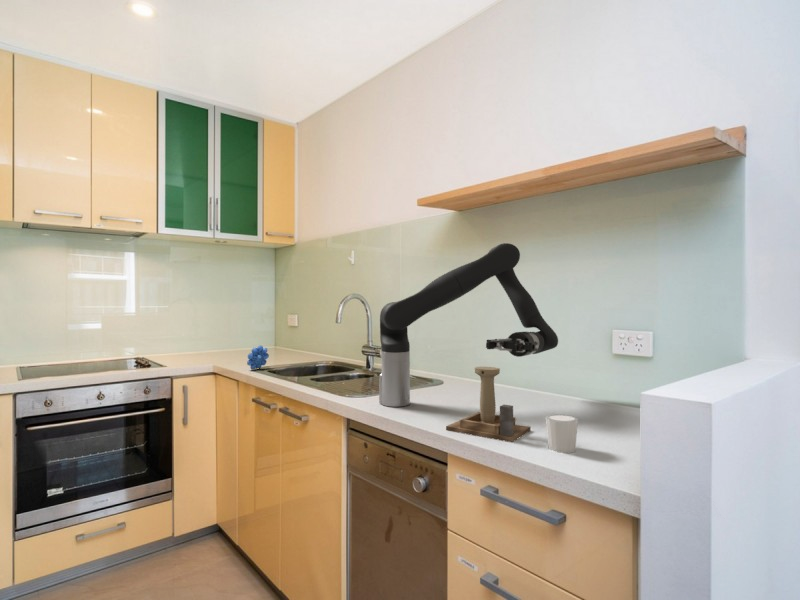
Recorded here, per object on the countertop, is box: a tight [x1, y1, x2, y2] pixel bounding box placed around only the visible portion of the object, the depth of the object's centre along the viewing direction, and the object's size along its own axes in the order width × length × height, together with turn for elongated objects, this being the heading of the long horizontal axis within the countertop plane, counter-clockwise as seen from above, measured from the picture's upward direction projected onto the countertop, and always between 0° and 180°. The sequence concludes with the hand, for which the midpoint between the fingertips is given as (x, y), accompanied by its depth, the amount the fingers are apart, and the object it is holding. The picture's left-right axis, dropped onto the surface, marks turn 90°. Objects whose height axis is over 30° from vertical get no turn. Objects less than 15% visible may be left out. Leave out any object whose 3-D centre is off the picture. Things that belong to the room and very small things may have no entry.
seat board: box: [445, 404, 531, 443], centre depth 118 cm, size 18×12×8 cm, turn 54°
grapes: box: [246, 345, 270, 370], centre depth 230 cm, size 12×7×12 cm, turn 136°
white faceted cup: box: [545, 414, 579, 454], centre depth 103 cm, size 7×7×7 cm
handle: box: [474, 366, 501, 424], centre depth 119 cm, size 5×6×15 cm
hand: (501, 346), depth 131 cm, fingers open, 8 cm apart
